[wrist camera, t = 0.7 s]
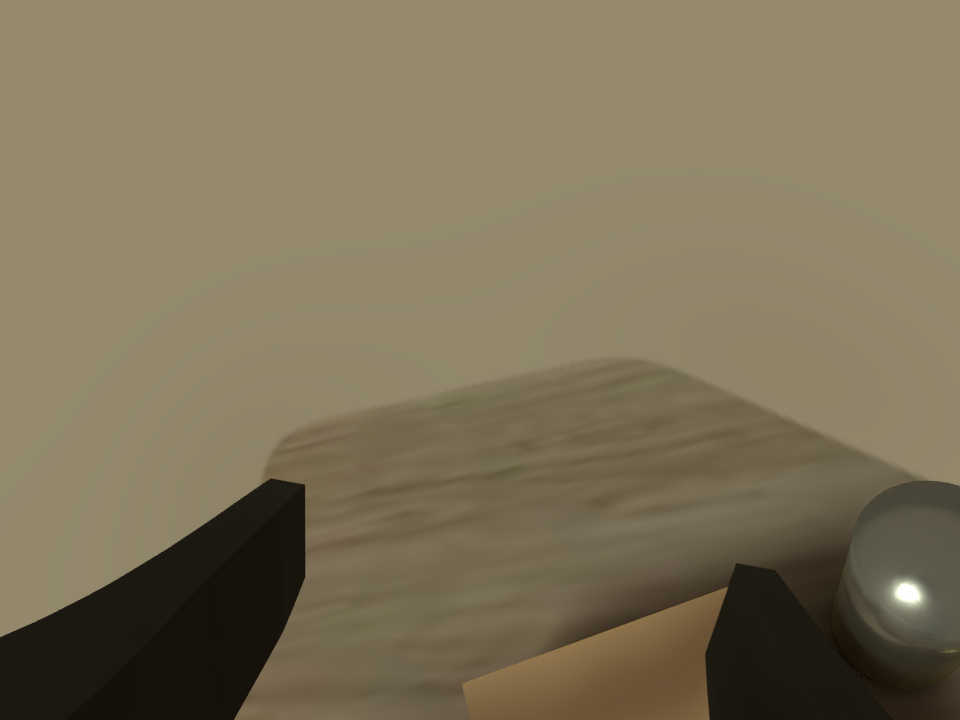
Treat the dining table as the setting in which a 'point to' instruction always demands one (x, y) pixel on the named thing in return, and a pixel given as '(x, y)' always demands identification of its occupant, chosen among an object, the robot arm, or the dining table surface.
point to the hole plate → (611, 673)
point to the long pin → (903, 587)
